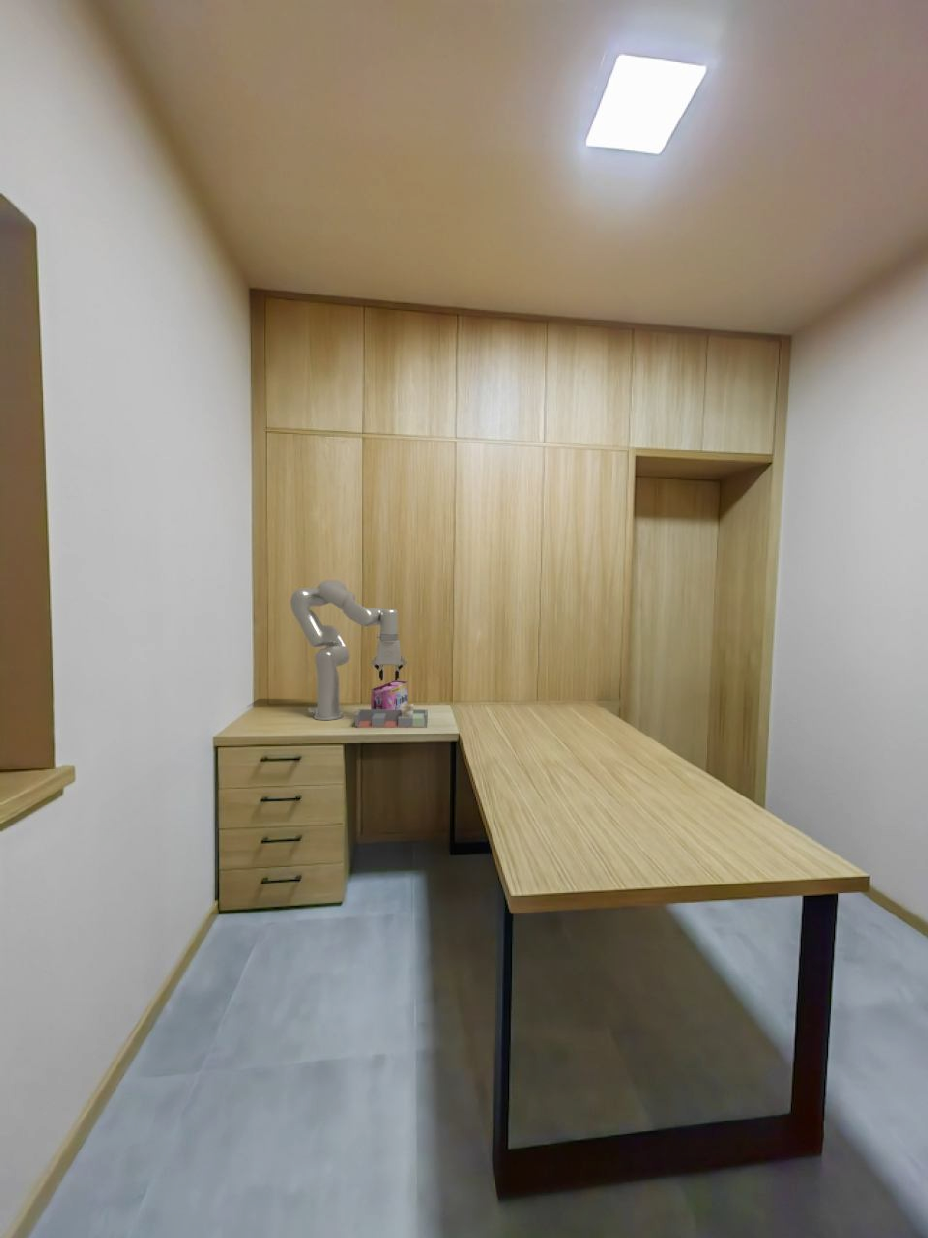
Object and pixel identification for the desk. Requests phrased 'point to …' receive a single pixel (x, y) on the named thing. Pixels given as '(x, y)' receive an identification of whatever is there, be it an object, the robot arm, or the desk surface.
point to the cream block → (407, 710)
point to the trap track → (390, 718)
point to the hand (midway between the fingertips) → (388, 679)
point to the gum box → (390, 695)
